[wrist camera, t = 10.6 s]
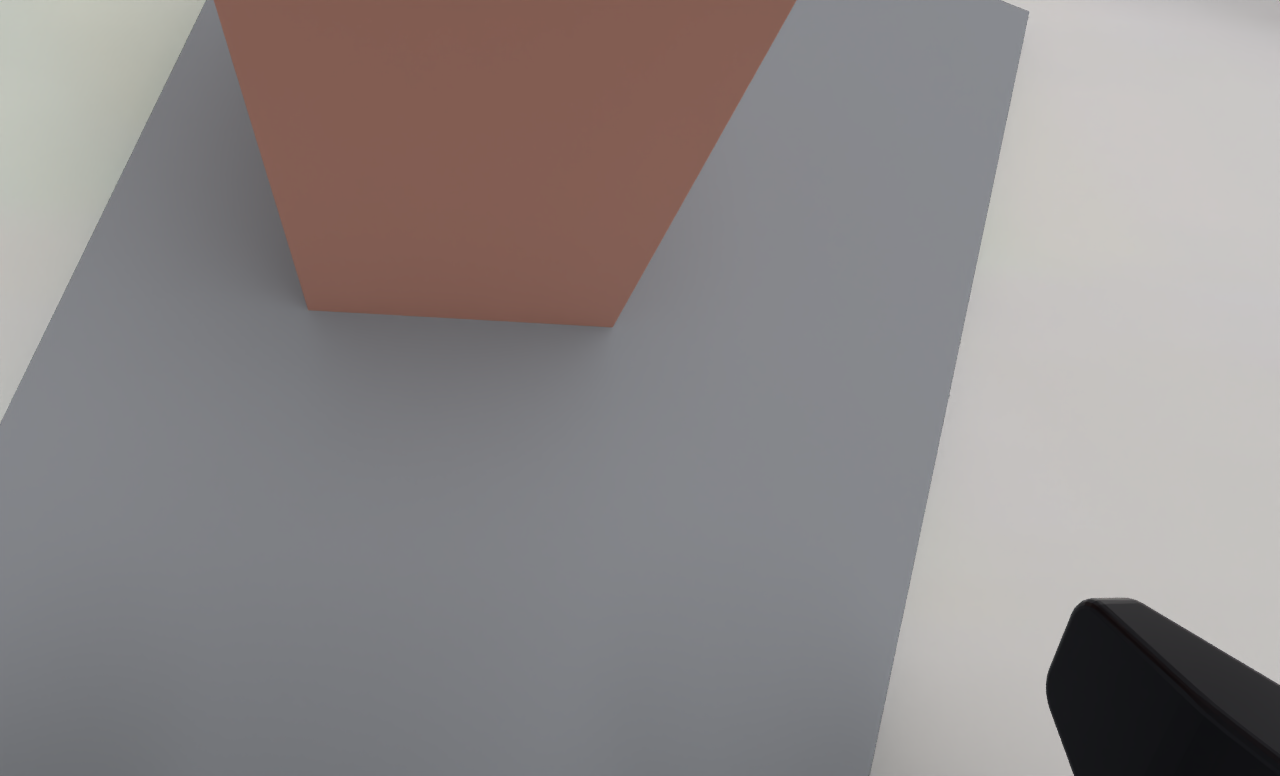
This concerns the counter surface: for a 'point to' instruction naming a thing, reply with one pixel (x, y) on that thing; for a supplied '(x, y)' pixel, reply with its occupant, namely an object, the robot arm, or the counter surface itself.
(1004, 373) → the counter surface
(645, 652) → the mat
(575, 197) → the card box
